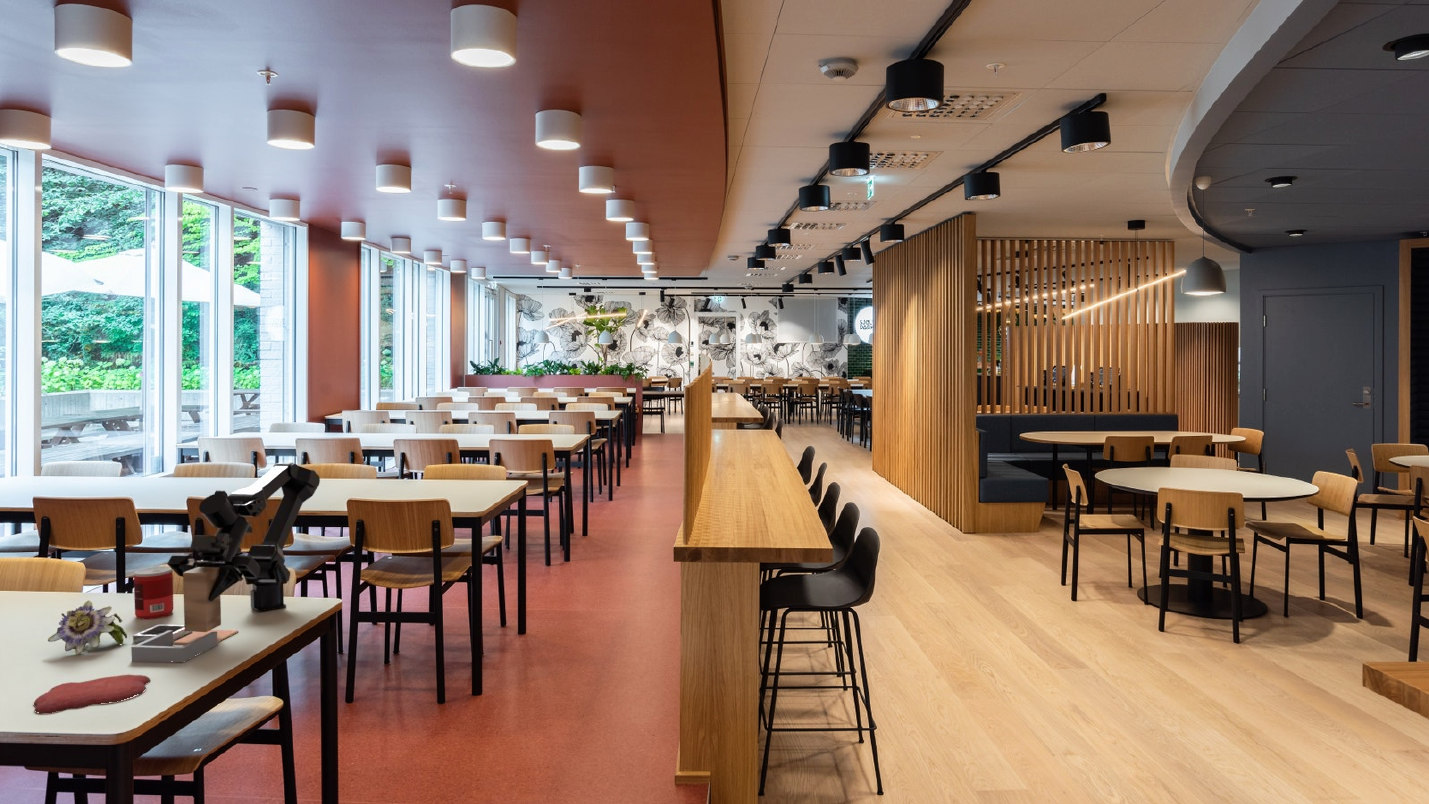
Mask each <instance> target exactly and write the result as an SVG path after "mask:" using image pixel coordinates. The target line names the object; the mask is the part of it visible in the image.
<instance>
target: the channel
mask: <svg viewBox="0 0 1429 804" xmlns="http://www.w3.org/2000/svg"><path fill="white" fill-rule="evenodd" d="M173 642H174V641H173V630H168V631H166V632H164V633H161V634H159V635H157V636H155V637H152V638H150V639H148V640H146V641H144V642H138V643H136V644H134V645H133V646H131V662H136V663H137V662H141V663H143V662H144V663H145V662H146V663H171V661H173V662H184V661H186V662H188V661H189V659H190V658H192V657H194V656H195V655H197V654H199V653H201V652H203V653H205V652H207V651H209V650H210V648H211V649H213V648H215V647H216V646H215V645H217V646H218V643H217V632H211V633H208V634H206V635H204V636H202V637H200V638H198V639H196V640H194V641H192V642H190V643H188V644H183V645H182V646H178V645H177V646H176V645H175V646H173V645H174V644H173ZM170 644H172V645H170ZM168 645H170V646H168ZM214 646H215V647H214ZM212 647H213V648H212ZM201 654H202V653H201ZM199 655H200V654H199ZM197 656H198V655H197ZM194 658H195V657H194ZM192 659H193V658H192ZM187 660H188V661H187ZM190 660H191V659H190ZM184 663H185V662H184Z"/></svg>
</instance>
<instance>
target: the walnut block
mask: <svg viewBox="0 0 1429 804" xmlns="http://www.w3.org/2000/svg"><path fill="white" fill-rule="evenodd" d="M218 576H219V568H218V567H197V568H194V569H191V570H189V571H186V572H183V577H182V578H183V579H182V581H183V583H182V584H183V587H182V589H183V617H184V618H183V619H184V621H183V622H184V624H183V625H184V627H185V631H191V633H194V632H208V631H210V630H215V629H216V628H218V627H220V626H221V625H222V609H221V608H222V607H221V604H222V603H221V600H222V599H221V594H220V595H219V596H218V597H217V598H215V599H214V600H213V601H210V600H209V599H208V598H209V595H210V592H211V590H212V588H213V586H214V584H215V582H216V580H217V578H218Z"/></svg>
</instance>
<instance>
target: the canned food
mask: <svg viewBox="0 0 1429 804" xmlns="http://www.w3.org/2000/svg"><path fill="white" fill-rule="evenodd" d="M173 572H174V570H173V569H172V568H171V567H170V566H151V567H145V568H141V569H138V570H136V571H134V572H133V590H134V591H133V593H134V595H133V596H134V615H135V617H136V619H138V620H155V619H162V618H165V617H168V616H170V615H172V613H173V611H174V579H173V578H174V573H173Z"/></svg>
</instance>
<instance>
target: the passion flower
mask: <svg viewBox="0 0 1429 804" xmlns="http://www.w3.org/2000/svg"><path fill="white" fill-rule="evenodd" d="M93 605H94V604H93V601H90V600H86V601H85V602H84V604H83V605H82V606H79V607H78V608H75V610H74V609H73V610H72V609H71V610H68V611H67V612H66V614H65V613H61V616H62V617H61V620H60V621H59V622H58V625H59V627H57V630H56V632H55V633H54V634H52V635H51V636H50V637H48V639H47V641H48V642H49V643H52V642H53V643H54V642H57V641H60V640H62V641H63V642H65V646H64V651H65V652H69V651H71V650H74V652H75V655H76V656H79V655H81V654H82V653H83V652H84V651H85V648H86V645H87V644H89V645H90V646H91V647H93V648H97V647H99V645H100V643H101V635H102V634H104V633H105V634H106V633H107V634H109V635H110V636H111V638H112V639H114V641H115V643H116V644H117V645H120V644H122V645H123V644H124V638H125V639H127V638H128V635H127V633H126V631H125V630H124V628H123V627H122V626H120V625H119V624H117V623H116V622H114V621H115V620H116V619H117V620H118V622H119V623H122V622H123V619H122V618H121V617H120V615H119V614H118V613H114V614H111V615H110V616H106V615H108V614H109V613H110V612H111V611H112V609H113V608H112V606H111V605H108V606H105V607H103V608H100V609H96V610H95V608H94V606H93ZM123 636H124V637H123Z"/></svg>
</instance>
